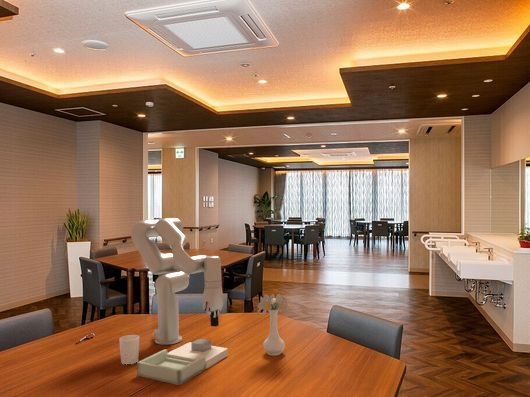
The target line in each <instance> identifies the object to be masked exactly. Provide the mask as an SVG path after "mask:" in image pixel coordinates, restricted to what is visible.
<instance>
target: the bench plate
mask: <svg viewBox="0 0 530 397" xmlns="http://www.w3.org/2000/svg"><path fill="white" fill-rule="evenodd" d="M192 342H193V341H192ZM192 342H190V341H189V342H186V343H185V344H183V345H181V346H179V347H176V348H175V349H172V350H171V351H169V352H168V351H167V357H170V358H176V359H181V360H186V361H191V362H193V361H195V360H197V359H199V358H200V357H202V356H206V369H205V370H207V369H209V368H211V367H212V366H214V365H215V364H217V363H218V362H221V361H222V360H224V359H225V358H226V357H228V356H229V348H227V347H221V346H215V345H211V348H210V349H208V350H206V351H204V352H200V351H194V350H192V349H191V343H192Z"/></svg>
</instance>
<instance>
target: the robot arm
mask: <svg viewBox="0 0 530 397" xmlns="http://www.w3.org/2000/svg"><path fill="white" fill-rule="evenodd" d="M130 230H131V231H130V238H131V240H132V241H131V242H132V244H133V245H134V247H135V248H136V250H138V252H139V254H140V255H141V258H142V259H143V261H144V263H145V264H146V266H147V268H148V270H149V271H150V273H151V274H153V275H159V276H158V277H157V278H156V280H155V283H154V284H155V285H154V286H155V287H154V288H155V292H156V298H157V329H154V330H153V331H152V335H153V336H156V337H155V338H154V343H155V344H157V345H165V346H168V345H175V344H177V343H180V342H182V341H183V336H182V335H180V334H179V331H180V327H179V325H180V324H179V322H180V321H179V320H180V319H179V300H178V297H177V295H176V293H178V292H181V291H184V290H185V289H187V288H188V286H189V284H190V278H189V275H192V274H193V275H194V274H198V273H202V272H203V276H204V278H203V279H204V289H203V294H202V310H203V311H204V312H205V315H207V316H209V318H210V319H209V320H210V327H218V326H219V324H220V323H219V317H220V312H221V311H222V309H223V307H224V294H223V293H224V292H223V286H222V283H223V282H222V264H221V261H222V260H221V257H220V256H218V255H206V254H198V255H194V256H193V255H192V256H190V255H189V253H188V252H186V251H185V249H184V247H185V245H186V244H187V241H188V238H187V236H186V235H185V234H184V233H183V230H184V224H183V222H182V221H181V220H180V219H179V218H177V217H169V218H168V217H167V218H166V217H164V218H160V219H144V220H140V221H137V222H135V223H134V224H132V226H131V229H130ZM153 237H154V238H155V237H160V238H161V239H162V240H163V241H164V242H165V243H166V244H167V245H168V247H169V248H171V251H172V252H165V253H162V251H161V250H160V249H159V248H158V246H157V244H156V243H155V242H154V241H153V240H152V239H150V238H153Z"/></svg>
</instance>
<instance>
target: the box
mask: <svg viewBox="0 0 530 397" xmlns="http://www.w3.org/2000/svg"><path fill="white" fill-rule="evenodd" d="M167 353H168V349H163V350H160V351H158V352H156V353H154V354H152V355H149V356H148V357H145V358H143V359H141V360H138V362H137V363H136V365H137V366H136V375H137V377H140V376H141V377H142V378H145V377H146V378H145V379H149V378H150V380H155V381H159V382H164V383H167V384H172V385H175V386H177V385H178V386H181V385H182V384H184V383H186V382H188V381H189V380H190V379H192V378H194V377H196V376H197V375H199V374H200V373H202V372H204V371H205V370H207V369H206V356H202V357H200V358H199V359H197V360H195V361H193V362H191V361H186V360H181V359H176V358H170V357H167Z"/></svg>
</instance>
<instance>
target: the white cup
mask: <svg viewBox="0 0 530 397" xmlns="http://www.w3.org/2000/svg"><path fill="white" fill-rule="evenodd" d="M118 340H119V354H120V364H121V363H122V364H121V365H124V364H126V365H125V366H128V365H127V364H131V365H134V363H135V364H137V363H136V362H139V354H140V335H138V334H127V335H123V336H120V337H119V338H118Z"/></svg>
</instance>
